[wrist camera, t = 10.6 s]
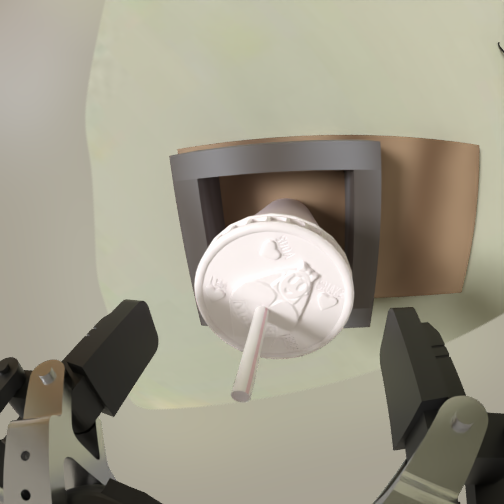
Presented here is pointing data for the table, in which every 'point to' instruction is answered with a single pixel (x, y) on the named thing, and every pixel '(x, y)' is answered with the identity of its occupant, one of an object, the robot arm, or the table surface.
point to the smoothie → (274, 287)
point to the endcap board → (344, 204)
